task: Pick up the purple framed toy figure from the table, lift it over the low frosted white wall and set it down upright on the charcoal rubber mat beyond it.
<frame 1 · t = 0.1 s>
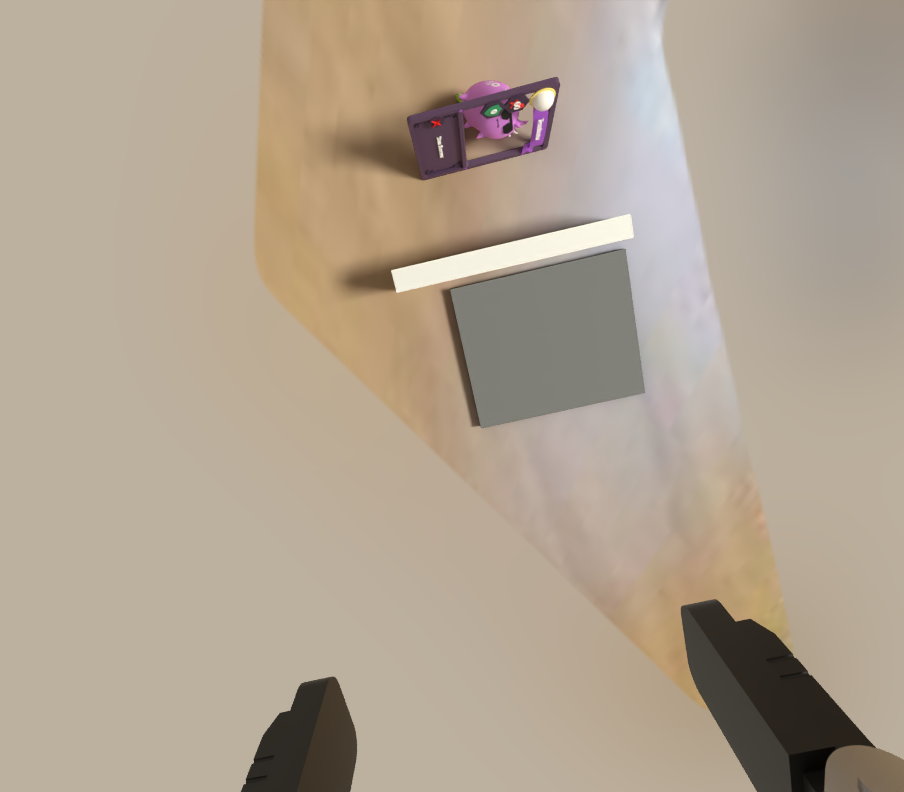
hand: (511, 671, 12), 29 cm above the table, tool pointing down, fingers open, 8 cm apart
purple framed toy figure: (476, 130, 36), on the table
rubber mat: (548, 341, 39), on the table
low wall: (505, 255, 37), on the table
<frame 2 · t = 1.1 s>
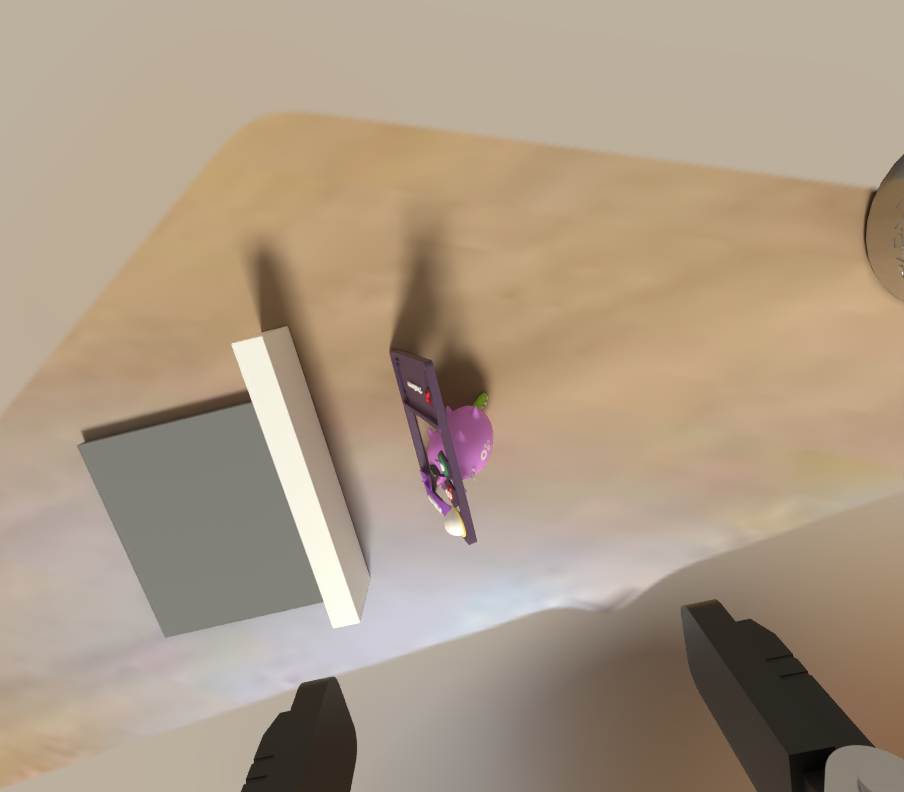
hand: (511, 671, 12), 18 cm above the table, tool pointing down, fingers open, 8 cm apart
purple framed toy figure: (449, 415, 29), on the table
rubber mat: (216, 520, 30), on the table
low wall: (319, 463, 29), on the table
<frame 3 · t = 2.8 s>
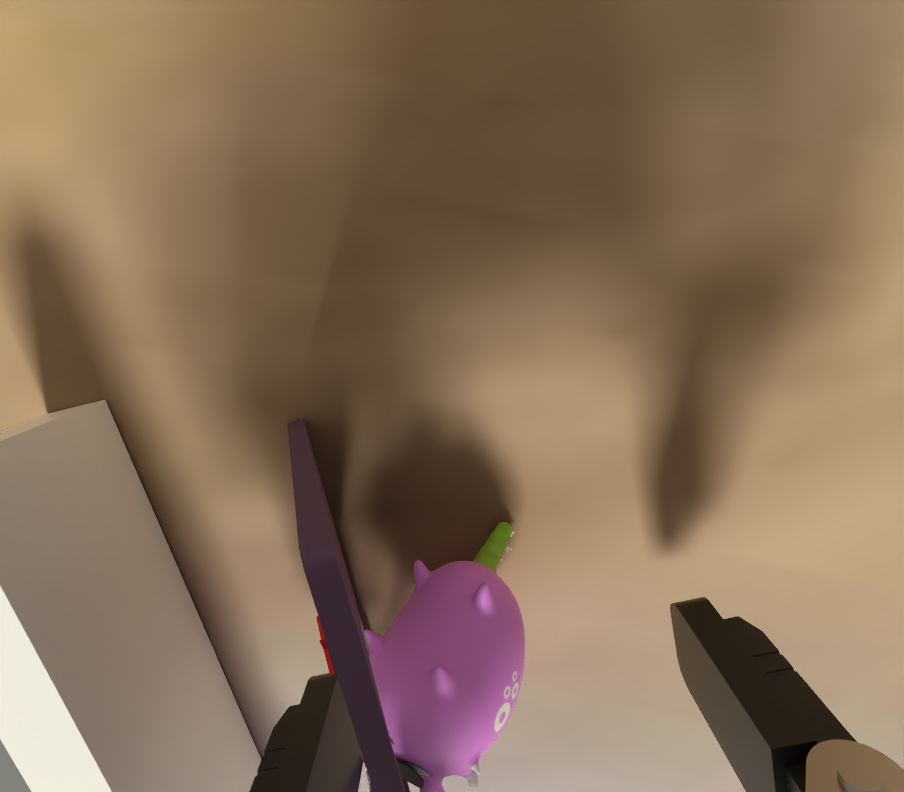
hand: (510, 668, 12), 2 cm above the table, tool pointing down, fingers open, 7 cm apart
purple framed toy figure: (426, 561, 13), on the table, touching gripper
low wall: (198, 680, 14), on the table
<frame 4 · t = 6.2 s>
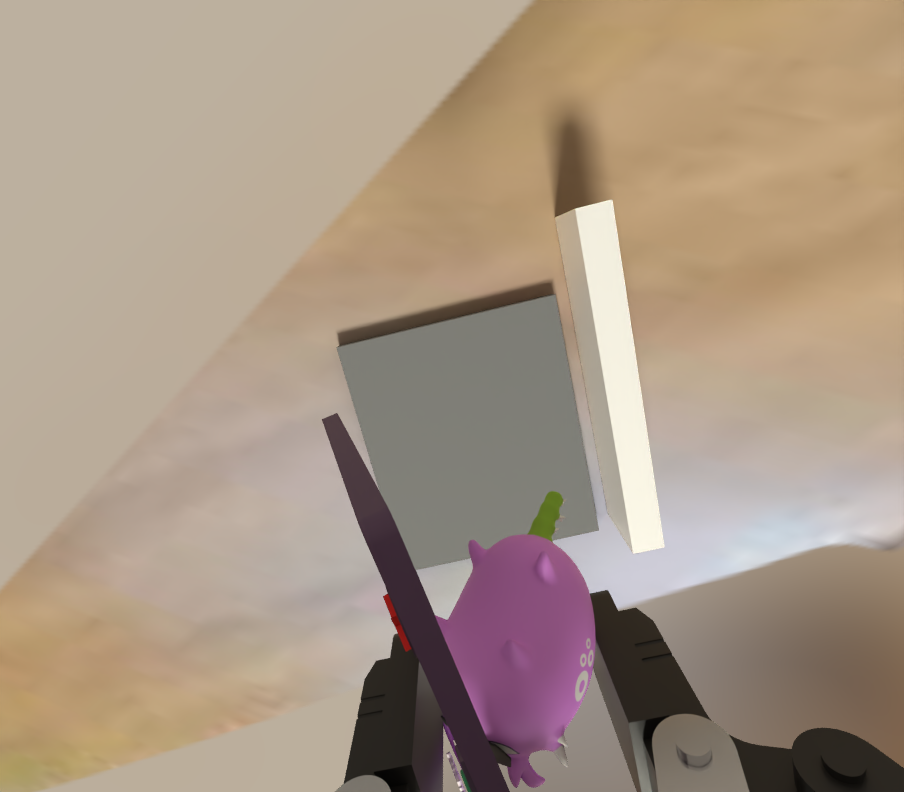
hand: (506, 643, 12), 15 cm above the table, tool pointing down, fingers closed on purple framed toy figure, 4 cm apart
purple framed toy figure: (478, 543, 13), point 14 cm above the table, touching gripper
rubber mat: (473, 439, 27), on the table
low wall: (597, 373, 26), on the table
when the fingers open (3 cm above the table, at t = 8.8 s): purple framed toy figure drops 1 cm, resting on rubber mat.
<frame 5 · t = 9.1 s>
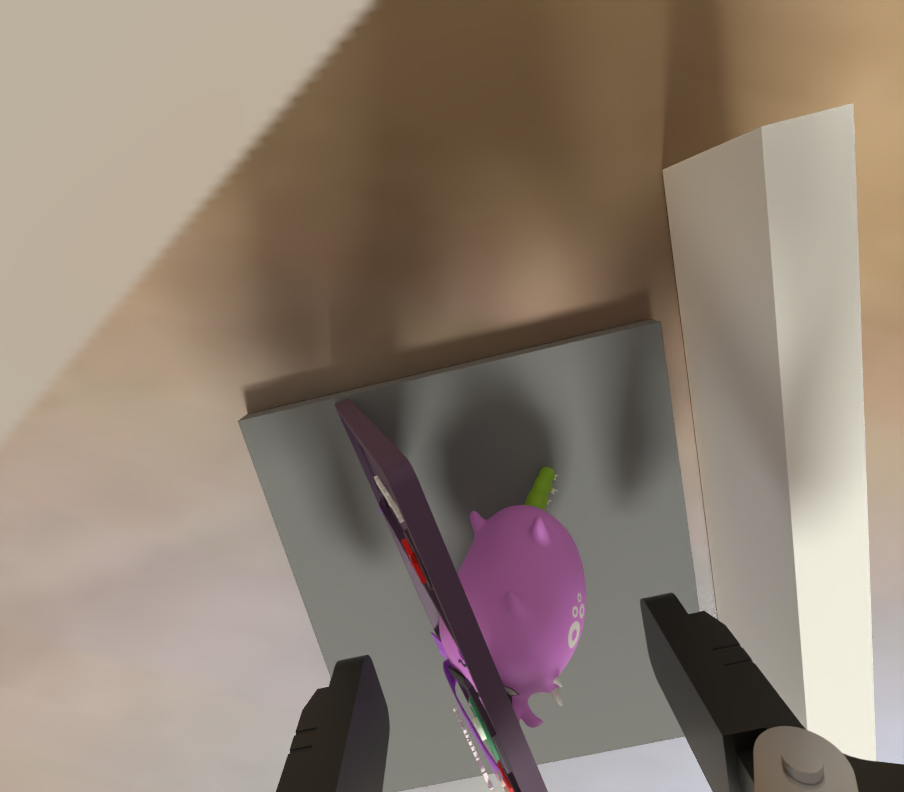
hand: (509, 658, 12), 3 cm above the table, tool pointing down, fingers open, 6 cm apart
purple framed toy figure: (478, 517, 14), resting on rubber mat
rubber mat: (496, 577, 15), on the table
low wall: (726, 464, 14), on the table
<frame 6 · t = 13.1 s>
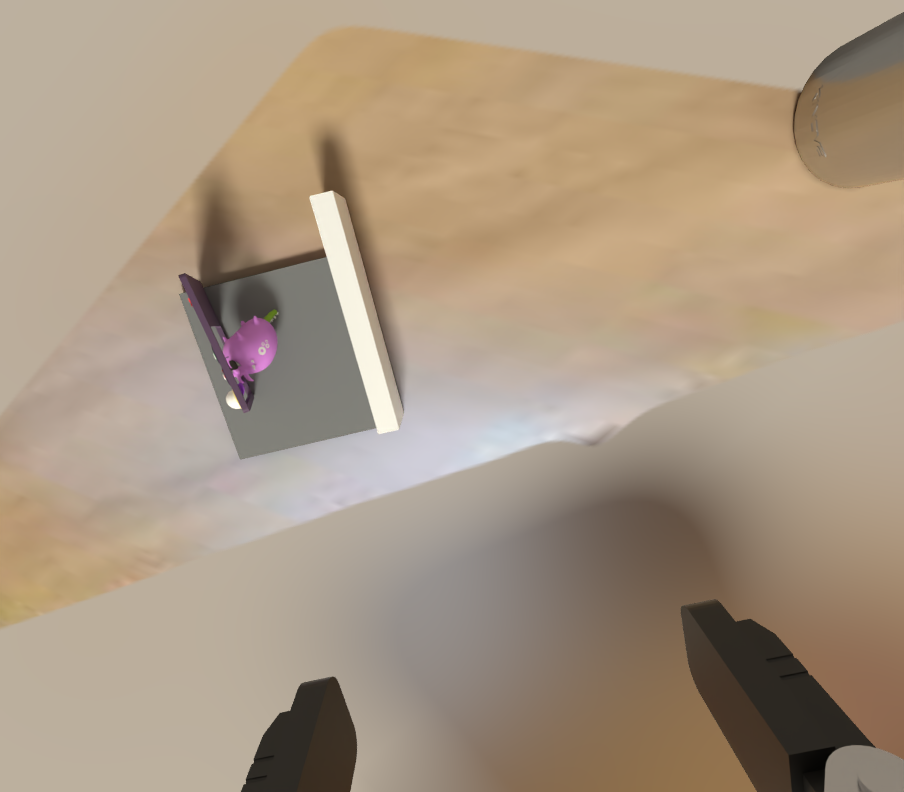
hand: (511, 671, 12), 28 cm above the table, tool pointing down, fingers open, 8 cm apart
purple framed toy figure: (254, 331, 37), resting on rubber mat
rubber mat: (283, 361, 38), on the table
low wall: (366, 313, 37), on the table
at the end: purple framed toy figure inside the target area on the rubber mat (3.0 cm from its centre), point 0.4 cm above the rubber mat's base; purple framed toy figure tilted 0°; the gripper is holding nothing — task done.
